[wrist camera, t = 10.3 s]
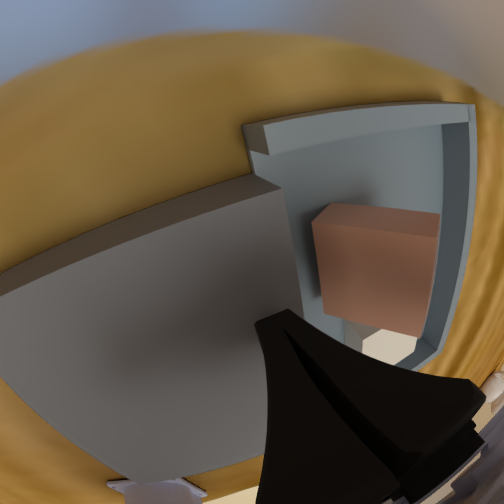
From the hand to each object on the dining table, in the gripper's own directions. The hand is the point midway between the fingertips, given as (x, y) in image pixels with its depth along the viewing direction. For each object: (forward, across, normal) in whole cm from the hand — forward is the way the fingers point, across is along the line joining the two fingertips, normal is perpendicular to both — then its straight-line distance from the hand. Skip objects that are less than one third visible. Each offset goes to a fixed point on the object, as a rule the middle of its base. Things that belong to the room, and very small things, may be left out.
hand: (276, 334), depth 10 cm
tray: (+4, -8, +3) cm, 9 cm away
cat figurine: (+4, -59, +66) cm, 89 cm away
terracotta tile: (0, -4, 0) cm, 4 cm away
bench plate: (+4, +6, +4) cm, 8 cm away
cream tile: (+1, -7, +7) cm, 10 cm away
